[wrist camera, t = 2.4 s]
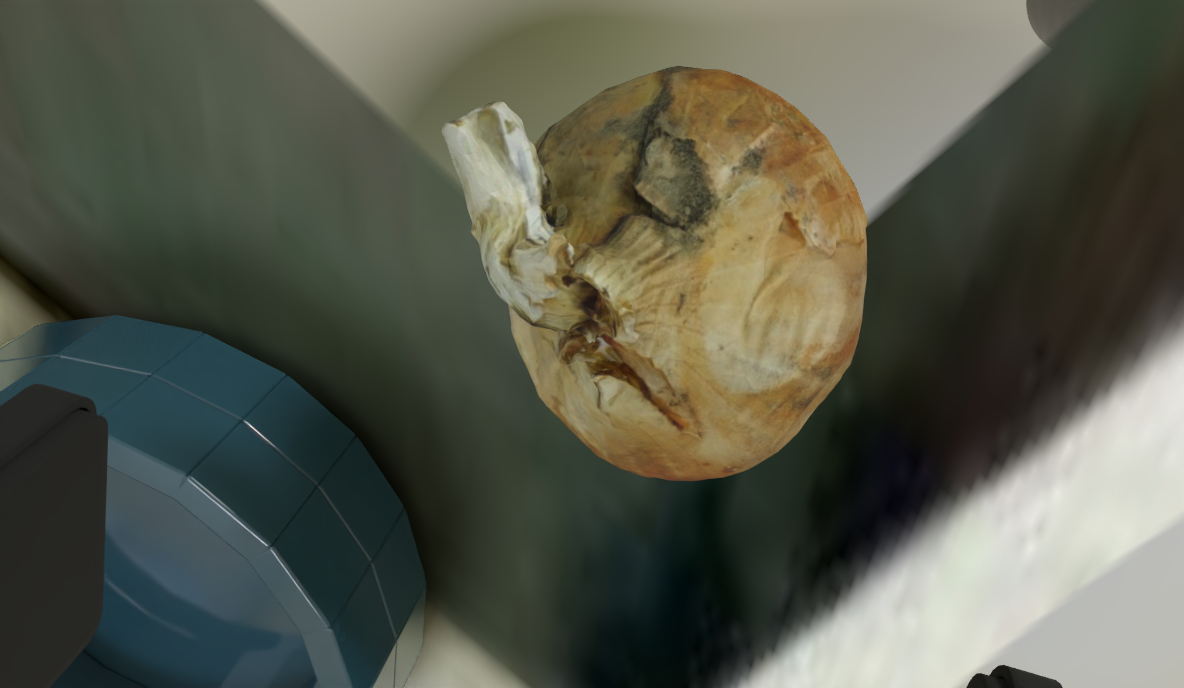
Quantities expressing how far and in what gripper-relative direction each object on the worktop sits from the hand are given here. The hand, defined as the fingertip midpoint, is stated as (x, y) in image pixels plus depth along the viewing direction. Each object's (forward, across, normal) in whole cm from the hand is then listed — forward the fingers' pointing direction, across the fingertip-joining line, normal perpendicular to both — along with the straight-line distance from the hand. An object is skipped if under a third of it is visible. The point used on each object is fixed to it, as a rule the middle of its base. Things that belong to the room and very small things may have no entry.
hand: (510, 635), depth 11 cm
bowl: (+14, +10, +13) cm, 22 cm away
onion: (+14, -1, 0) cm, 14 cm away
